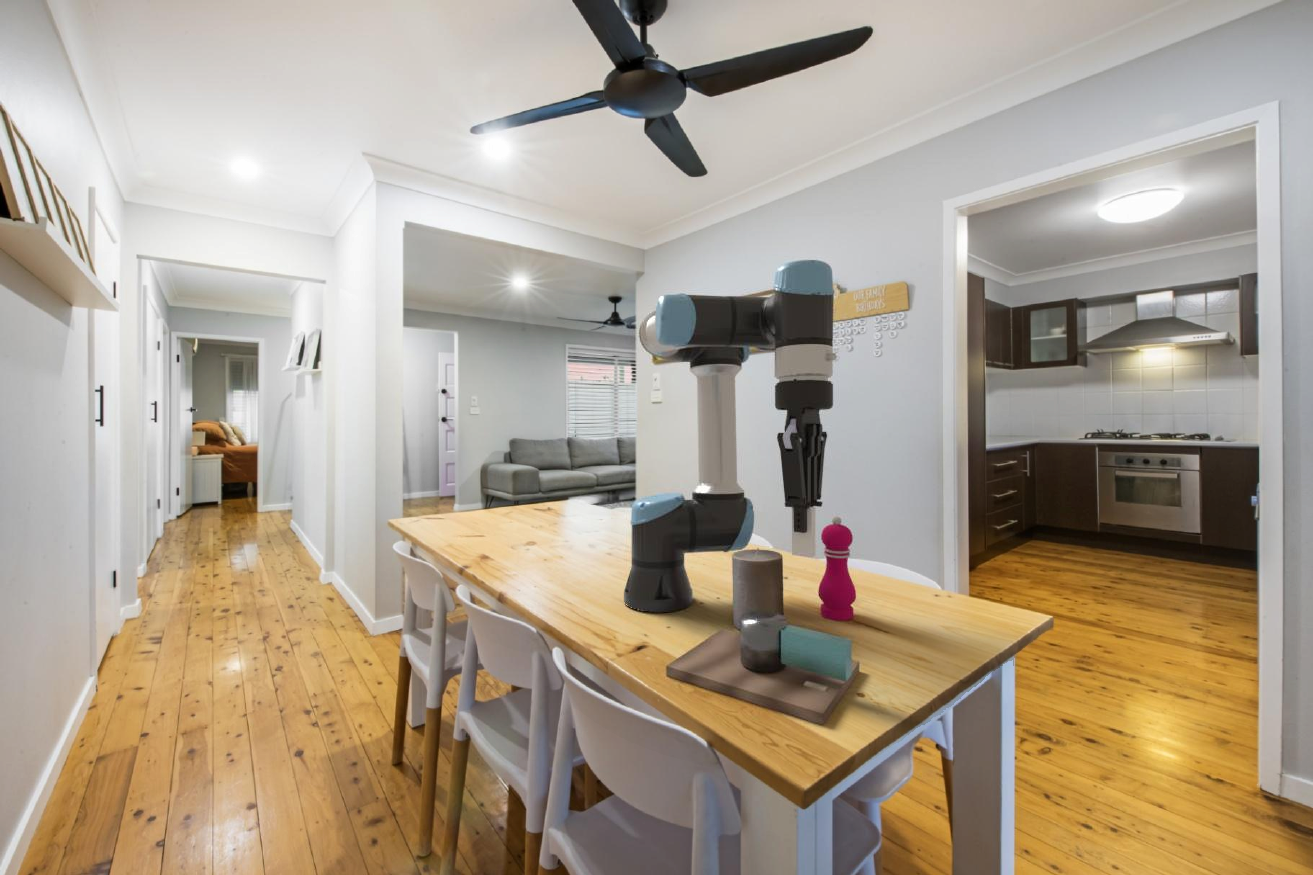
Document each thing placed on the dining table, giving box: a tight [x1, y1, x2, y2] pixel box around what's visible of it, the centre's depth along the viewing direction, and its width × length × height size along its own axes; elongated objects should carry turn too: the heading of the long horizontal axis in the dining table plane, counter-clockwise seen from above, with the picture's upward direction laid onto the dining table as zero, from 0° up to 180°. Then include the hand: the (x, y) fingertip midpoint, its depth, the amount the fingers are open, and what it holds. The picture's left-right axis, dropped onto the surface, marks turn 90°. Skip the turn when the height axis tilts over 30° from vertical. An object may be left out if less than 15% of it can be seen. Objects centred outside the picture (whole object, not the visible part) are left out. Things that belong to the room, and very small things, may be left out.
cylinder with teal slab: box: [739, 611, 853, 682], centre depth 78 cm, size 7×16×7 cm, turn 52°
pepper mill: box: [817, 516, 857, 622], centre depth 106 cm, size 7×7×20 cm
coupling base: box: [665, 629, 860, 726], centre depth 81 cm, size 24×18×2 cm
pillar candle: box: [731, 547, 785, 631], centre depth 101 cm, size 10×10×15 cm
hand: (803, 555), depth 71 cm, fingers closed
